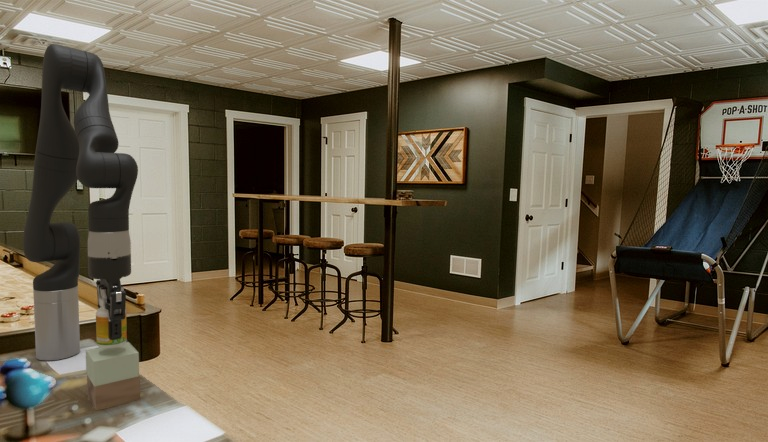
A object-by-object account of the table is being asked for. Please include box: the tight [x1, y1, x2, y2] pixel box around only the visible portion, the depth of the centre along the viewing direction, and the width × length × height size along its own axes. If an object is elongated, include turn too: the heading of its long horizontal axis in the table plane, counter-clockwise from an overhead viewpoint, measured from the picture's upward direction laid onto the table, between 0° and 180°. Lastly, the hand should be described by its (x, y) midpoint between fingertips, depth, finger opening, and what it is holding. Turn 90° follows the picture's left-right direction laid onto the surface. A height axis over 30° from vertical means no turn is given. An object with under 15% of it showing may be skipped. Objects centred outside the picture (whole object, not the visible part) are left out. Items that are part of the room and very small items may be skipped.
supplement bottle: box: [95, 297, 128, 348], centre depth 98 cm, size 5×5×10 cm
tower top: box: [85, 341, 140, 387], centre depth 99 cm, size 8×8×5 cm
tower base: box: [86, 374, 141, 412], centre depth 99 cm, size 8×8×5 cm
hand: (111, 334), depth 98 cm, fingers closed on supplement bottle, 5 cm apart
